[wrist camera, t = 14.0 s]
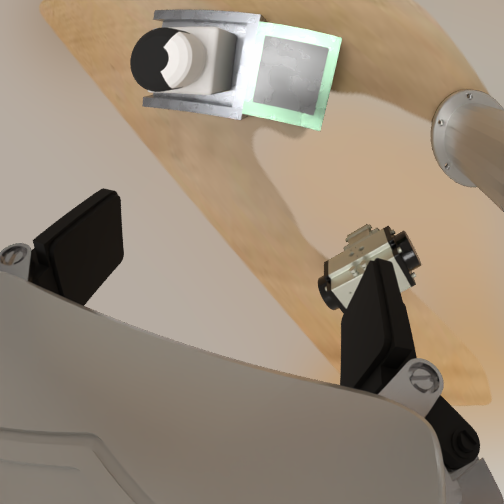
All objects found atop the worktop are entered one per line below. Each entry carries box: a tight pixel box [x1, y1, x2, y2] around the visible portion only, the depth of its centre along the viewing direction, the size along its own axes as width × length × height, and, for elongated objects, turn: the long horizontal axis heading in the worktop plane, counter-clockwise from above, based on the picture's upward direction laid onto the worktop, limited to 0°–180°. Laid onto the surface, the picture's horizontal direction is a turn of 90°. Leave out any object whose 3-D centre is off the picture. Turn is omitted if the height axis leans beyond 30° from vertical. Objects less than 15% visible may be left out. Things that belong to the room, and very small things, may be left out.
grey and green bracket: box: [143, 10, 342, 131], centre depth 29 cm, size 21×12×7 cm, turn 80°
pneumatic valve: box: [318, 224, 421, 313], centre depth 35 cm, size 6×12×12 cm, turn 131°
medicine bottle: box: [130, 27, 237, 95], centre depth 26 cm, size 7×7×12 cm
